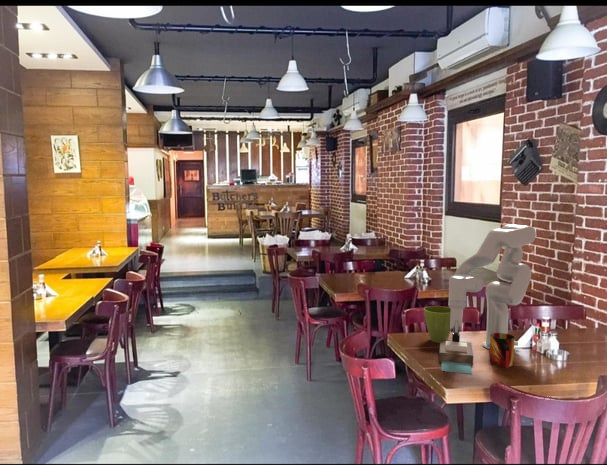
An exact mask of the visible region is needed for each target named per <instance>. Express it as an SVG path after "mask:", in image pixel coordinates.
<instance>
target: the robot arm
mask: <svg viewBox="0 0 607 465" xmlns="http://www.w3.org/2000/svg"><path fill="white" fill-rule="evenodd" d="M536 237H537V231H536V230H535V228H534V227H533V226H530V225H524V224H505V225H503V226H502V227H501V228H493V229H491V230H490V231H489V232H488V233H487V235H486V237H485V238H484V240H483V242H482V243H481V245H480V247H479V249H478V250H477V252H476V253H475V254H473V255H471V256H470V257H469V258H467V259H466V260H464V262H462V263H461V264H460V265H459V266H458V269H457V270H456V272H455V273H454V275H452V276H450V277H449V280H448V282H449V283H448V303H447V304H448V306H447V307H449V308H451V310H450V329H451V330H452V334H451V336H452V337H451V341H452V342H459V341H460V338H461V337H460V336H461V335H460V331H461V330H462V326H463V325H462V324H463V315H464V314H463V312H464V309H465V308H466V307H467V305H466V304H467V293H479V292H480V291H482V289H484V286H485V284H484V283H485V282H484V280H483V279H482V278H481V277H480V276H478V275H474V274H473V275H472V274H471V273H473V272H474V271H475V270H478V269H479V268H482V267H486V266H489V265H491V264H494V262H495V261H496V259H497V257H498V255H499V254H500V252H501V251H502V249H504V250H503V251H504V252H503V254H502V256H501V260H500V262H499V264H498V267H497V270H496V276H497V278H498V279H500V280H501V281H498V280H497V281H495V280H494V281H490V282H489V283H488V284H487V285H486V288H485V297H486V305H487V306H486V308H487V309H486V310H487V311H486V338H485V341H483V342H482V347H484V348H485V349H487V350H490V335H491V334H492V333H505V334H509V333H508V332H509V307H508V306H509V305H510V306H518V305H520V304H521V302H522V301H523V299H524V297H525V295H526V292H527V290H528V287H529V285H530V282H531V279H532V269H531V268H530V266H529V265H528V264H525V263H521V262H522V259H523V256H524V252H523V248H522V247H524V246H526V245H530V244H532V243H533V242H534V241H535V239H536ZM503 281H505V282H503ZM507 282H509V283H507ZM460 342H461V341H460ZM514 346H519V341H516V340H514Z"/></svg>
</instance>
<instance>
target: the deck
mask: <svg viewBox="0 0 607 465" xmlns="http://www.w3.org/2000/svg"><path fill="white" fill-rule="evenodd" d="M446 341H449V340H448V339H447V340H440V343H439V357H438V358H439V360H438V361H439V363H440V362H441V363H442V361H445V362H456V363H466V364H472V365H474V350H473V344H472V342H471V341H470V342H468V341H462V342H463V343H467V352H459V351H448V350H446ZM459 342H461V341H459ZM472 365H471V366H472Z"/></svg>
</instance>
